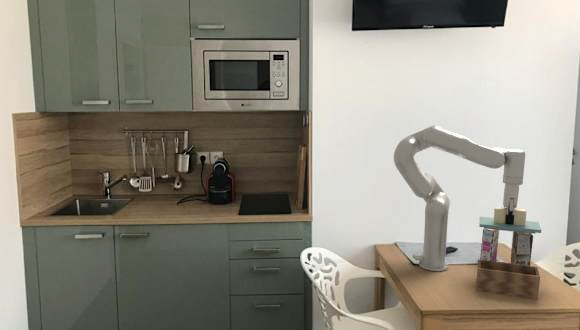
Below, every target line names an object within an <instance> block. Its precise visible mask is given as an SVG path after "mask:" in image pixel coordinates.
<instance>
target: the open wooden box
mask: <svg viewBox="0 0 580 330" xmlns="http://www.w3.org/2000/svg"><path fill="white" fill-rule="evenodd" d="M540 280H541V276H540V272H539V270H538V267H537V266H535V265H534V266H532V265H530V266H526V265H518V264H511V262H501V261H496V260H495V261H487V260H480V258H479V259H478V260H477V269H476V281H475V282H476V284H475V291H477V292H485V293H492V294H498V295H499V294H500V295H505V296H510V297H511V296H512V297H518V298H526V299H531V300H532V299H533V300H539V293H540V292H539V291H540V283H541V281H540Z"/></svg>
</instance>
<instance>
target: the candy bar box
mask: <svg viewBox="0 0 580 330" xmlns="http://www.w3.org/2000/svg"><path fill="white" fill-rule="evenodd" d="M499 237H500V230H494V229H484V228H482V237H481V249H480V258H479V260H487V261H494V260H495V259H496V260H497V255H498V245H499ZM496 260H495V261H496Z"/></svg>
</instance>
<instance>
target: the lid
mask: <svg viewBox="0 0 580 330" xmlns="http://www.w3.org/2000/svg"><path fill="white" fill-rule="evenodd" d="M508 210H509V209H508ZM493 211H494V212H493V217H490V216H489V217H487V216H479V223H478V224H479V228H483V229H494V230H499V231H504V232H505V231H506V232H513V231H514V232H524V233H531V234H534V235H535V234H536V233H537V234H541V233H542V228H541V225H540V223H539V221H529V220H527V209H523V208H515V209H514V224H513V225H510V224H505V218H506V214H507V208H506V207H505V208H504V207H501V206H499V207H498V206H494V209H493Z"/></svg>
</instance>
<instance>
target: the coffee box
mask: <svg viewBox="0 0 580 330" xmlns="http://www.w3.org/2000/svg"><path fill="white" fill-rule="evenodd" d="M511 240H512V241H511V251H510V252H511V254H510V263H511V264H518V265H526V266H531V263H532V262H531V261H532V252H533V251H532V250H533V242H534V235H533V233H524V232H514V231H512V239H511Z"/></svg>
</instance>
